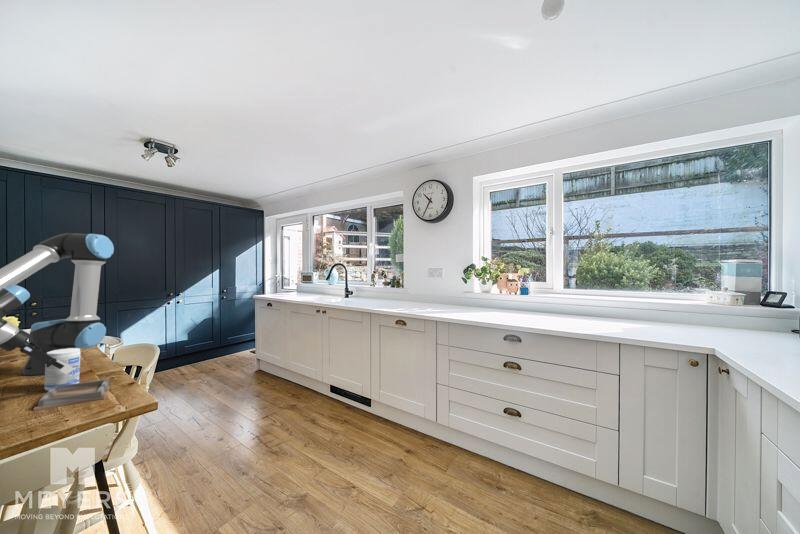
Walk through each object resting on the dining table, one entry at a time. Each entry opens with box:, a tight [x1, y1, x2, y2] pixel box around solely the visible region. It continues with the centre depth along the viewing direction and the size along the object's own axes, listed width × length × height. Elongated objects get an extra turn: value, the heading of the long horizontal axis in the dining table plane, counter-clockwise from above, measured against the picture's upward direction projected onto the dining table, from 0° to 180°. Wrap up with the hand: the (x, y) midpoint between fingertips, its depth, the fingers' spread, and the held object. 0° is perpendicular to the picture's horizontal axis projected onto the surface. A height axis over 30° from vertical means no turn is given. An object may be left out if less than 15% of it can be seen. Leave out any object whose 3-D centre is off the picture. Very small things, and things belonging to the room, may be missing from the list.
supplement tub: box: [43, 348, 81, 392], centre depth 122 cm, size 10×10×15 cm
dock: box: [32, 378, 112, 412], centre depth 114 cm, size 17×17×3 cm
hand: (66, 368), depth 123 cm, fingers open, 13 cm apart
